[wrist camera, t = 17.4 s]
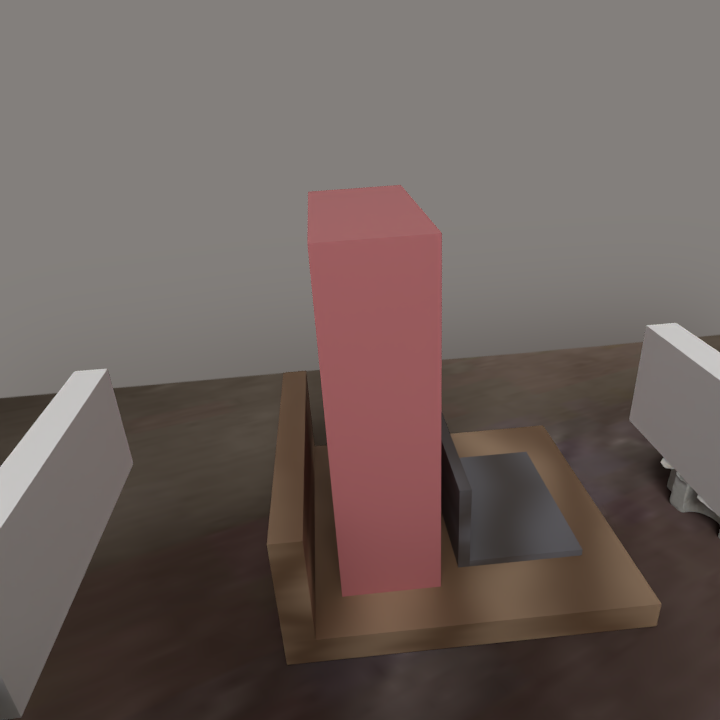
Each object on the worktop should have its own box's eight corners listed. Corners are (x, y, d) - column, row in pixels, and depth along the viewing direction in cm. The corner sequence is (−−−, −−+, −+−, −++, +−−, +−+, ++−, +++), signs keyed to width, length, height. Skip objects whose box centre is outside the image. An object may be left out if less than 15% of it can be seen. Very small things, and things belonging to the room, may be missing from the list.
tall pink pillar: (342, 596, 29) (307, 243, 22) (334, 466, 39) (308, 191, 32) (440, 586, 30) (441, 233, 22) (408, 459, 40) (400, 184, 32)
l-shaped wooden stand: (286, 665, 28) (266, 544, 25) (295, 465, 42) (283, 372, 39) (656, 626, 29) (684, 504, 25) (541, 442, 43) (549, 350, 40)
